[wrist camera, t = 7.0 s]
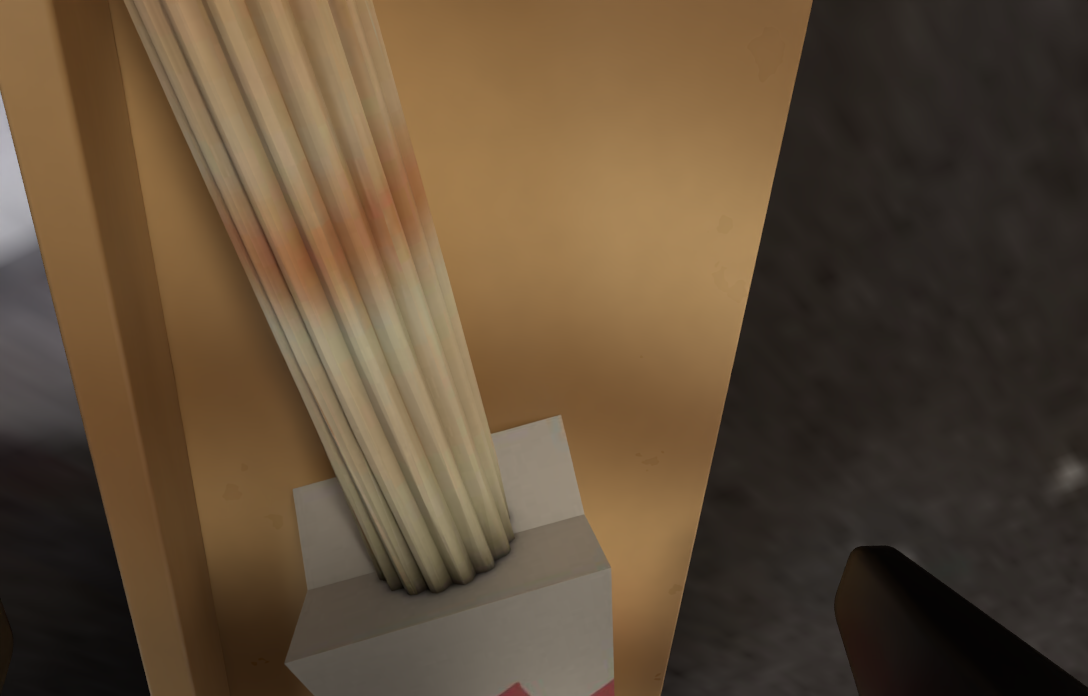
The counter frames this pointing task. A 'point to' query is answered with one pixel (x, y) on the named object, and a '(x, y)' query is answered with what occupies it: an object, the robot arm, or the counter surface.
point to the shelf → (474, 273)
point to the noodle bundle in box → (381, 371)
